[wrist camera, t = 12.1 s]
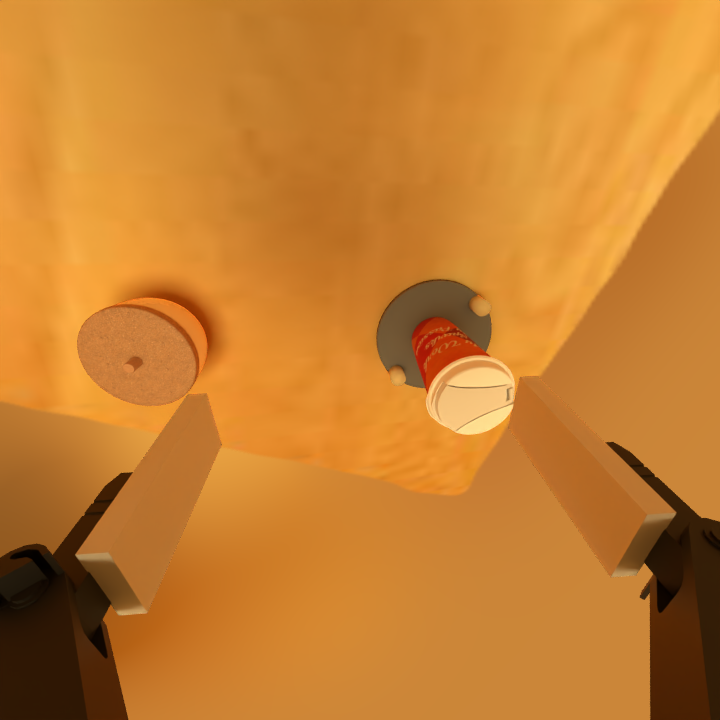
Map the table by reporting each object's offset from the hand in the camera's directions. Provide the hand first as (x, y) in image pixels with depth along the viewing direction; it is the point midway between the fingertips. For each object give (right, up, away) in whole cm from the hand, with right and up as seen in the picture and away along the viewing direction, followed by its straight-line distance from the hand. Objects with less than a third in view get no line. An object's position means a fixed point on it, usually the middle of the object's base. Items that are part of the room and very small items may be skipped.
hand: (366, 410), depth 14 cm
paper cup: (+9, +5, +26) cm, 28 cm away
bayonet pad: (+9, +5, +27) cm, 29 cm away
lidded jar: (-22, +6, +25) cm, 34 cm away
